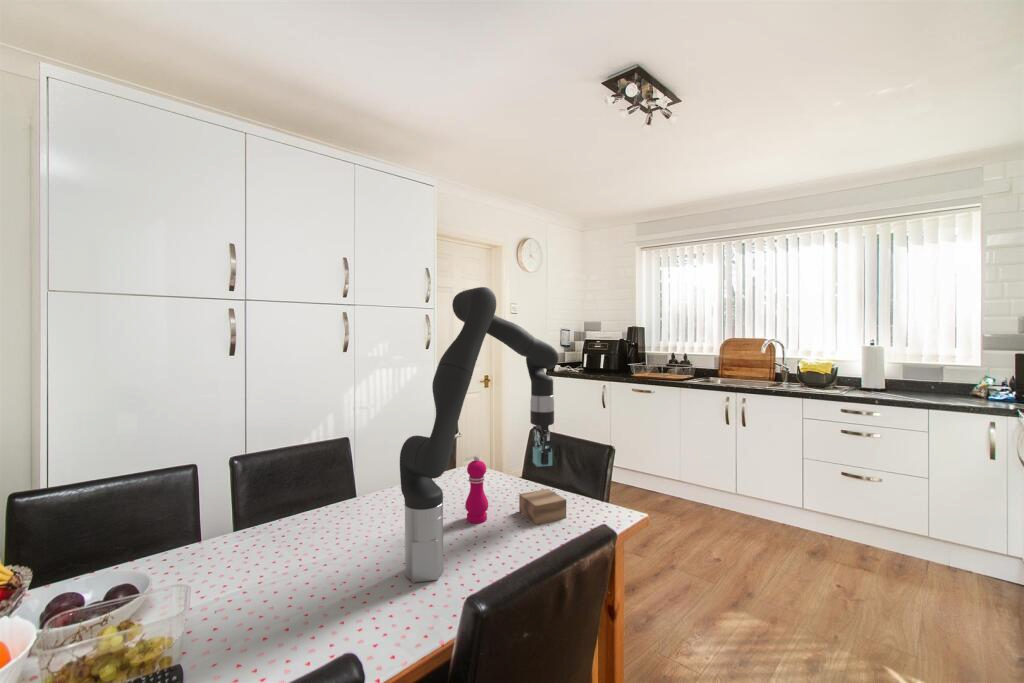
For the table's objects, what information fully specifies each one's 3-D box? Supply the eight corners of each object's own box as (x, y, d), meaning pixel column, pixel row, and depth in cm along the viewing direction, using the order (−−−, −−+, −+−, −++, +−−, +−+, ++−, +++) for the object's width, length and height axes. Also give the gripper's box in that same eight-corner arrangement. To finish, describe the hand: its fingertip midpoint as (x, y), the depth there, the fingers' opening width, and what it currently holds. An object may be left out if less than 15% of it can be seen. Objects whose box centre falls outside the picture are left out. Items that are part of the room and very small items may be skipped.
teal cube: (552, 465, 145) (552, 449, 145) (537, 466, 144) (536, 450, 144) (547, 461, 150) (547, 445, 150) (532, 462, 149) (532, 446, 149)
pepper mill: (490, 515, 148) (489, 453, 147) (486, 524, 140) (486, 459, 140) (467, 514, 148) (467, 452, 148) (463, 523, 141) (462, 458, 140)
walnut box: (566, 518, 145) (566, 499, 145) (535, 525, 141) (535, 505, 140) (548, 506, 155) (548, 488, 155) (519, 512, 150) (519, 494, 150)
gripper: (560, 412, 141) (560, 467, 141) (546, 404, 155) (546, 455, 155) (536, 413, 139) (537, 469, 140) (525, 405, 153) (525, 456, 154)
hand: (542, 461), depth 147 cm, fingers closed on teal cube, 5 cm apart
